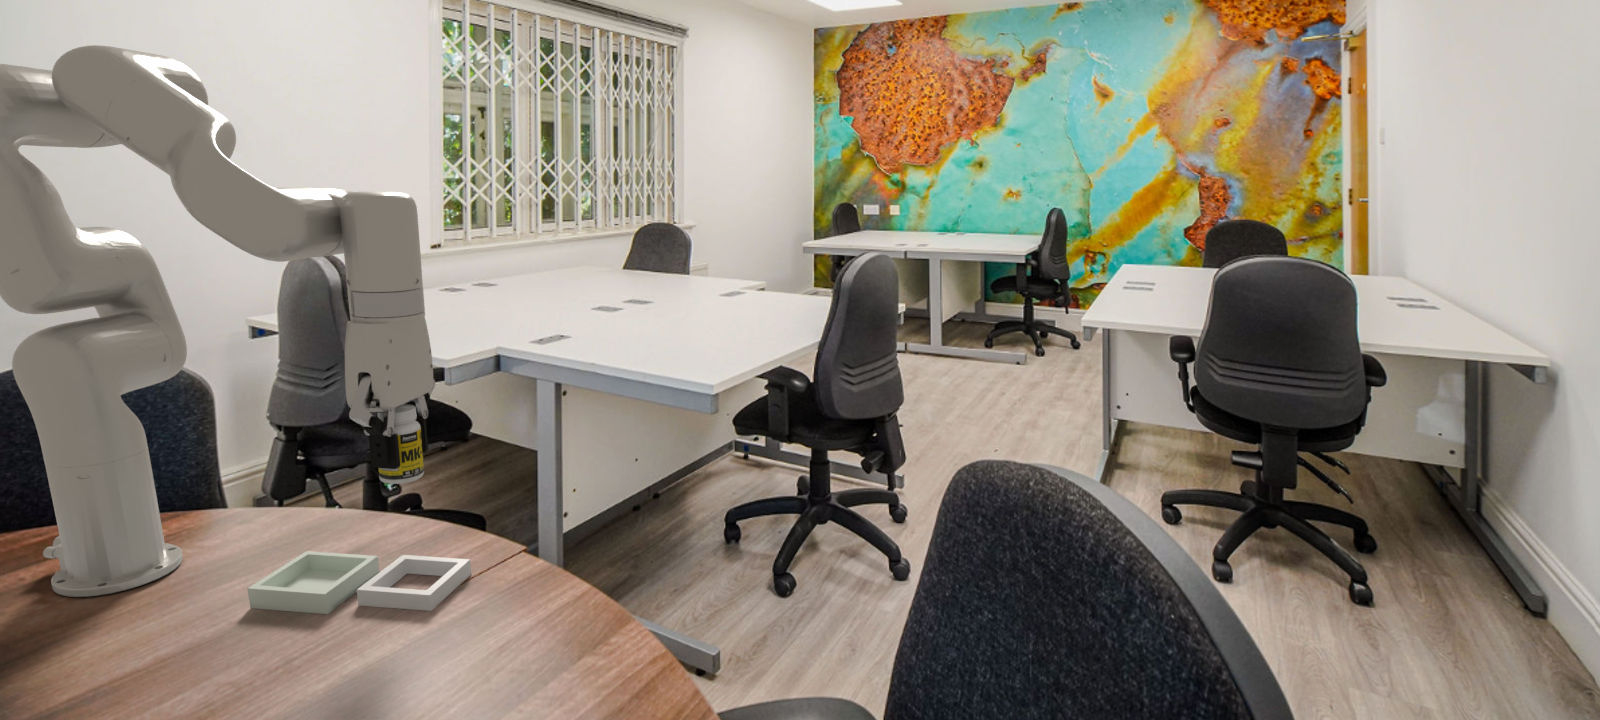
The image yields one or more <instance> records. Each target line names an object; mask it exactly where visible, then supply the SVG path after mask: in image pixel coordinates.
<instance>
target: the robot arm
mask: <svg viewBox="0 0 1600 720" xmlns="http://www.w3.org/2000/svg"><path fill="white" fill-rule="evenodd" d="M236 143H237V135H236V130H235V127H234V125H233V124H232V122H231V121H230V120H229V119H228V118H227V117H226V116H224V115H223V114H222V113H220V112H218V111H216V110H215V109H214V108H212V107H210V106H209V96H208V93H207V89H206V88H205V86H204V84H203V81H202V80H201V79H200V78H199V76H198V75H197V74H196V72H194V70H192V69H191V68H190V67H188V65H185V64H184V63H182V62H181V61H178V60H176V59H174V58H172V57H169V56H165V55H162V54H155V53H149V52H144V51H138V50H132V49H126V48H121V47H116V46H110V45H109V46H108V45H83V46H80V47H75V48H72V49H70V50H68V51H66V52H65V53H63V54H62V55H61V56H60V57H59V58H58V59H57V60H56V61H55V63H54V65H53V67H52V70H49V69H43V68H35V67H34V68H33V67H28V66H22V65H14V64H5V63H0V297H1V299H2V300H3V301H4V303H5V304H6V305H7V306H9V308H12V309H13V310H15V311H17V312H20V313H24V314H28V315H29V314H30V315H47V314H55V313H63V312H64V313H65V312H69V311H76V310H81V309H82V310H83V309H86V308H87V309H88V308H94V309H95V311H96V312H97V315H98V317H93V318H87V319H86V318H85V319H81V320H76V321H71V322H66V323H60V324H55V325H52V326H49V327H46V328H44V329H40V330H38V331H35V332H34V333H32V334H30V335H29V336H27V337H26V338H25V339H24V340H22V341H21V343H20V344H18V346H17V348H16V349H15V351H14V353H13V355H12V359H11V360H12V361H11V363H12V364H11V366H12V367H11V369H12V373H13V376H14V379H15V383H16V385H17V387H18V389H19V390H20V392H21V394H22V397H23V399H24V400H25V403H26V405H27V406H28V408H29V411H30V413H31V416H32V419H33V422H34V424H35V428H36V431H37V435H38V439H39V443H40V447H41V453H42V459H43V461H44V466H45V470H46V471H45V472H46V476H47V480H48V486H49V491H50V495H51V501H52V506H53V510H54V514H55V520H56V524H57V530H58V535H57V536H56V537H55V538H54V540H53V542H52V546H51V545H50V546H47V547H45V548H44V549H43V552H42V556H43V557H44V558H47V559H58V563H59V567H60V569H59V570H58V571H56V572H55V573H54V574H53V575H52V577H51V580H50V584H51V589H52V591H53V592H54V593H56V594H58V595H61V596H64V597H71V598H73V597H74V598H82V597H83V598H85V597H86V598H87V597H96V596H103V595H109V594H114V593H119V592H122V591H127V590H130V589H134V588H137V587H141V586H143V585H146V584H149V583H152V582H154V581H156V580H159V579H161V578H162V577H164V576H166V575H168V574H169V573H171V572H173V571H174V570H175V569H177V568H178V567H179V566H180V565H181V563H182V561H183V558H184V556H183V551H182V548H180V546H177V545H175V544H172V543H167V542H165V538H164V532H163V527H162V520H161V515H160V509H159V504H158V496H157V491H156V486H155V480H154V479H155V478H154V474H153V468H152V463H151V457H150V451H149V446H148V439H147V436H146V432H145V429H144V426H143V424H142V421H140V419H139V417H138V416H137V415H136V414H135V413H134V412H133V411H132V410H131V409H130V407H129V406H128V405H127V404H126V403H125V402H124V400H123V399H122V395H124V394H127V393H131V392H133V391H136V390H139V389H143V388H147V387H151V386H154V385H156V384H157V385H158V384H159V383H163V382H164V381H165V382H166V381H167V380H168V381H169V379H171V378H173V377H174V376H177V374H178V373H179V372H181V370H182V369H183V368H184V366H185V363H186V361H187V355H188V346H187V340H186V337H185V334H184V330H183V328H182V326H181V323H180V319H179V317H178V314H177V313H176V312H177V311H176V310H175V307H174V305H173V302H172V300H171V297H170V294H169V292H168V290H167V286H166V285H165V282H164V280H163V279H164V278H163V277H162V275H161V274H162V273H161V272H160V269H159V268H158V265H157V263H156V261H155V259H154V257H153V255H152V254H151V253H150V251H149V250H148V248H146V247H145V245H143V243H142V242H141V241H140V240H138V239H137V238H136V237H135V236H133V235H131V234H130V233H128V232H126V231H124V230H122V229H118V228H115V227H107V226H88V227H87V226H86V227H76V226H75V224H74V223H73V222H72V219H70V217H69V215H68V212H67V210H66V208H65V205H64V202H63V200H62V197H61V195H60V193H59V191H58V189H57V188H56V187H55V185H54V183H53V182H52V181H51V179H49V177H48V176H47V175H46V174H45V173H44V172H43V171H42V170H41V169H40V168H39V167H38V166H37V165H36V164H34V163H33V162H32V161H30V160H29V159H28V158H27V157H25V156H24V155H22V154H21V153H20V151H19V149H20V147H21V146H30V147H31V146H35V147H36V146H37V147H50V148H51V147H54V148H55V147H56V148H62V147H63V148H79V149H80V148H82V149H86V148H87V149H91V148H92V149H93V148H105V147H111V146H112V147H114V146H116V145H117V146H118V145H122V146H124V147H125V148H127V149H129V150H130V151H131V152H133V153H134V154H136V155H138V156H139V157H141V158H143V159H144V160H145V161H147V162H149V163H150V164H152V165H153V166H154V167H156V168H158V169H160V171H162V172H164V173H165V174H167V175H168V176H170V182H171V185H172V188H173V191H175V194H176V196H177V197H178V200H179V201H180V202H181V204H182V206H183V207H184V208H185V210H186V211H187V212H188V214H189V215H191V216H192V218H193V219H194V220H196V221H197V222H198V223H199V224H201V225H202V226H204V227H205V228H207V229H208V230H210V231H211V232H212V233H214V234H215V235H217V236H218V237H221V238H222V239H223V240H225V241H227V243H230V244H231V245H233V246H234V247H236V248H238V249H240V250H241V251H243V252H246V253H248V254H249V255H251V256H254V257H257V258H260V259H263V260H265V261H271V262H278V263H279V262H281V263H283V262H291V261H298V260H304V259H313V258H320V257H321V258H322V257H328V256H335V255H341V254H343V257H344V266H345V277H346V287H347V288H346V289H347V298H348V299H347V300H348V309H349V318H350V320H349V321H347V324H346V329H345V339H344V340H345V341H344V383H345V397H346V402H347V405H348V408H350V410H349V413H348V417H349V419H350V420H352V421H353V422H355V423H356V424H358V425H359V426H360V427H361V428H362V430H363V433H364V434H365V436H367V437H368V445H369V456H370V465H371V468H374V469H379V468H386V469H397V468H398V467H400V455H399V443H398V434H393V431H394V418H395V408H396V407H399V406H401V405H403V404H410V405H414V406H415V407H416V414H417V418H416V420H415V421H417V422H418V423H419V424H420V427H421V438H422V452H423V454H424V453H426V452H428V450H429V443H428V442H429V441H428V431H427V430H428V429H427V418H428V417H429V409H428V406H429V402H430V400H431V395H432V393H433V391H434V389H435V386H436V380H435V378H434V367H433V355H432V348H431V341H430V340H431V339H430V335H429V329H428V326H427V321H426V318H425V316H426V311H425V310H426V307H425V296H424V295H425V294H424V285H423V271H422V270H423V269H422V255H421V243H420V231H419V229H420V228H419V218H418V209H417V208H418V207H417V203H416V201H415V200H414V198H413V197H412V196H411V195H409V194H408V193H405V192H399V191H383V190H382V191H376V190H375V191H373V190H372V191H370V190H369V191H367V190H366V191H365V190H364V191H362V190H361V191H360V190H359V191H352V190H347V189H341V188H336V187H335V188H334V187H322V186H317V187H314V186H313V187H310V186H309V187H303V186H302V187H299V186H295V187H273V186H270V185H269V184H267V183H265V182H263V181H261V179H258V178H257V177H255V176H254V175H252V174H251V173H249V172H247V171H246V170H244V169H243V168H241V167H240V166H239V165H237V164H235V163H234V162H233V161H231V157H232V156H233V153H234V151H235V147H236ZM377 403H379V406H377ZM378 413H384V421H382V420H381V419H379V418H378V416H377V414H378Z"/></svg>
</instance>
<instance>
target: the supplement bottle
mask: <svg viewBox="0 0 1600 720" xmlns="http://www.w3.org/2000/svg"><path fill="white" fill-rule="evenodd" d="M377 417H378V418H379V419H381V420H382V421H384V413H377ZM416 418H417V414H416V407H415V406H414V405H410V404H403V405H401V406H399V407H396V408H395V418H394V431H393V434H398V443H399V455H400V467H398V468H397V469H386V468H378V477H379V480H380V481H381V482H382V483H384V484H391V485H393V484H394V485H396V484H397V485H399V484H406V483H412V482H414V481H417V480H420V478H422V477H423V476H424V475H425V468H424V467H425V466H424V455H423V454H424V453H423V452H422V438H421V427H420V424H419V423H418V422H417V421H415V420H416Z"/></svg>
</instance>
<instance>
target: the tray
mask: <svg viewBox="0 0 1600 720" xmlns="http://www.w3.org/2000/svg"><path fill="white" fill-rule="evenodd" d="M379 572H381V571H380V564H379V556H378V555H368V554H353V553H342V552H341V553H340V552H326V551H313V550H312V551H311V550H306V551H304V552H303V553H301V554H300V555H298V556H297V557H295V558H293V559H291V560H290V561H288V562H287V563H285V564H283V565H282V566H281V567H280V566H279V568H277V569H276V570H274V571H272V572H271V573H270V574H267V575H266V576H265V577H263V578H261V579H260V580H258V581H257V582H255V583H253V584H251V586H249V587H248V588H247V595H248V601H249V607H250V609H255V610H256V609H259V610H270V611H281V612H292V613H293V612H295V613H296V612H297V613H307V614H318V615H319V614H321V615H328V614H330V613H332V612H333V611H334V610H335V609H337V608H338V607H339V606H341V605H342V604H343V603H344V602H345V601H347V600H349V598H351V597H352V596H353V595H355V594H357V589H358V588H360V587H361V586H362V585H363V584H365V583H366V582H367V581H369V580H370V579H371V578H373V577H374V576H375V575H377V574H378V573H379Z"/></svg>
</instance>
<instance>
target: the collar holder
mask: <svg viewBox="0 0 1600 720" xmlns="http://www.w3.org/2000/svg"><path fill="white" fill-rule="evenodd" d="M471 566H472V565H471V559H470V558H456V557H455V558H453V557H442V556H441V557H440V556H426V555H413V554H412V555H411V554H402V555H401V556H398V558H396V560H394V561H393V562H391V563H390V564H388V565H387V566H386V567H384V568H382V570H381V571H380V572H379V573H378V574H377V575H375V576H374V577H373V578H371V579H370V580H369V581H367V582H366V583H365V584H363V585H362V586H361V587H360V588H358V589H357V592H356V595H357V596H356V597H357V602H358V603H357V605H358V606H361V607H362V606H363V607H374V608H376V607H377V608H388V609H389V608H390V609H399V610H400V609H401V610H412V611H428V612H432V611H433V610H435V609H436V607H437V606H439V605H440V604H441V603H442V602H443V601H444V600H445V599H446V598H448V596H450V594H452V592H454V591H455V590H456V589H457V588H458V587H459V586H460V585H461V584H462V583H463V582H465V580H466V581H467V579H468V578H469V577H470V576H471V575H472V567H471ZM407 574H409V575H422V576H423V575H424V576H438V577H439V579H438V580H436V581H435V582H434V583H433V584H432V585H431V586H429V588H427V589H415V588H413V589H412V588H401V587H400V588H399V587H393V585H395V584H396V583H397V582H399V581H400V580H401V579H402V578H403V577H404V576H406V575H407Z"/></svg>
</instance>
